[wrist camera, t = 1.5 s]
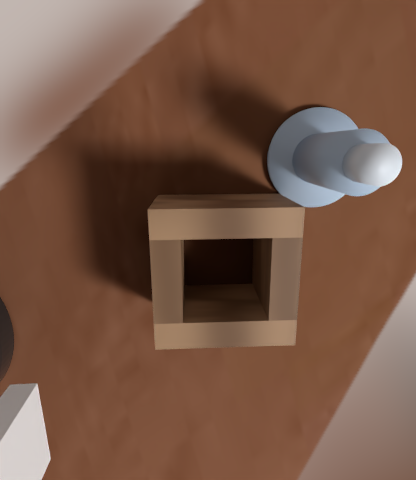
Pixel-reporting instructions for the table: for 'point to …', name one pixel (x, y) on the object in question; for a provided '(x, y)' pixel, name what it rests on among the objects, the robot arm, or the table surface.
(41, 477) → the robot arm
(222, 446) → the table surface
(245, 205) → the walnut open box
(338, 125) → the pale blue pawn
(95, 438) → the table surface
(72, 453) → the table surface
